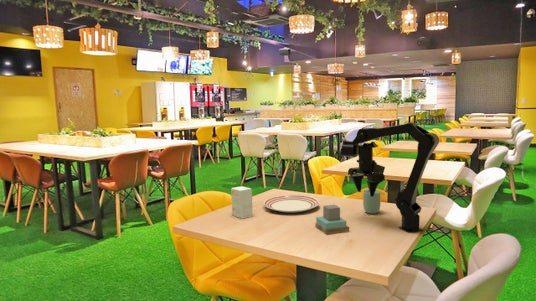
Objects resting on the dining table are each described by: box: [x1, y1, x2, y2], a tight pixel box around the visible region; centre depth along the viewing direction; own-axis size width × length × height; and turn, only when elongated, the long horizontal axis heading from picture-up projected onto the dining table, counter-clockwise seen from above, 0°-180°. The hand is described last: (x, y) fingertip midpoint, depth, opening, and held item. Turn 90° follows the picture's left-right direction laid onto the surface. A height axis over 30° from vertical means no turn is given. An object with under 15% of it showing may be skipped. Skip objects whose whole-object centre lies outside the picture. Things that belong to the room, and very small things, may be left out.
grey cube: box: [322, 204, 341, 221], centre depth 153 cm, size 5×5×5 cm
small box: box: [230, 185, 254, 219], centre depth 175 cm, size 8×6×13 cm
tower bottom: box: [314, 222, 350, 235], centre depth 154 cm, size 10×10×2 cm
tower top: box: [315, 216, 347, 230], centre depth 153 cm, size 9×9×2 cm
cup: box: [362, 189, 382, 215], centre depth 175 cm, size 8×8×10 cm
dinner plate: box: [263, 194, 320, 214], centre depth 188 cm, size 28×27×3 cm
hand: (365, 194), depth 161 cm, fingers open, 9 cm apart
